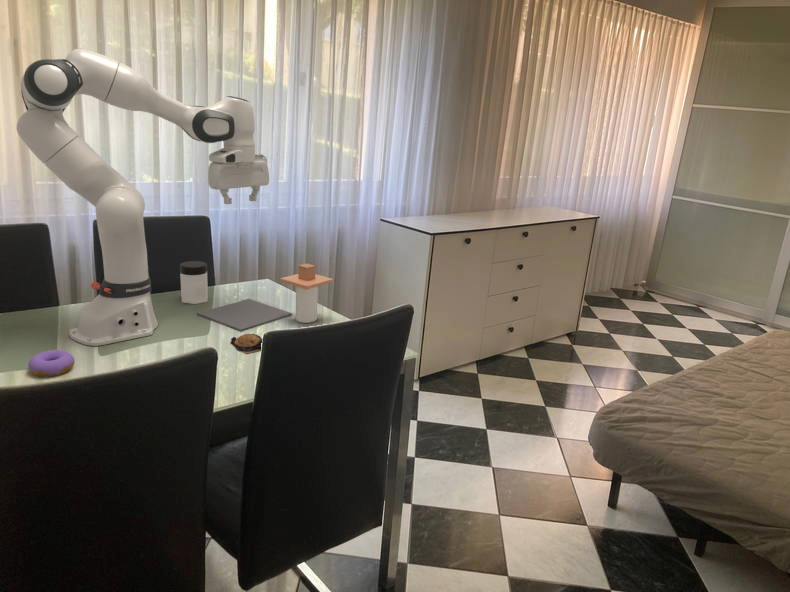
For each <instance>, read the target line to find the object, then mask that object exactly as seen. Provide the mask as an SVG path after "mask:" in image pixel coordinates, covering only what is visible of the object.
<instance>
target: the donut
mask: <svg viewBox="0 0 790 592" xmlns="http://www.w3.org/2000/svg"><path fill="white" fill-rule="evenodd" d="M74 364H75V358H74V356H73V354H72V353H71V352H69V351H67V350H63V349H51V350H45V351H42V352H40V353H39V352H38V353H37V354H35V355H33V357H31V358H30V359H29V361H28V365H27V366H28V369H29V371H30V372H31V373H32V374H34V375H35V376H39V377H56V376H59V375H62V374H65V373H67V372H69V371H70V370H71V369H72V368H73V367H74Z"/></svg>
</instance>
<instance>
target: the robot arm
mask: <svg viewBox="0 0 790 592" xmlns="http://www.w3.org/2000/svg"><path fill="white" fill-rule="evenodd" d="M20 88H21V98H22V101H23V104H24V106H25V109H26V112H24V113H22V115H21V116H20V117H19V118H18V121H17V123H16V131H17V134H18V136H19V137H20V138H21V140H22V142H24V144H25V145H26V146H27V148H28V149H29V150H30V151H31V152H32V153H33V155H35V156H36V158H37V159H38V160H39V161H41V163H42V164H43V165H44V166H45V167H47V168H48V169H49V170H50V171H51V172H52V173H53V174H54V175H55V176H56V177H57V178H58V179H59V180H60V182H62V183H63V184H64V185H66V187H67V188H68V189H70V190H71V191H73V192H75V193H76V194H78V196H79V195H80V197H82V198H83V199H85V200H86V201H87V202H88V203H89V204H91V205H92V206H93V207H94V208H95V218H96V219H95V220H96V226H97V232H98V237H99V242H100V247H101V254H102V263H103V264H102V265H103V275H104V278H103V280H102V282H101V283H99V282H97V281H93V282H91V283H90V287H91V289H92V290H95V291H99V293H98V295H97V296H96V297H94V298H93V300H91V301H90V302H89V303H88V304H87V305H86V306H85V307H83V308H82V309H81V311H80V312H79V313H78V317H77V327H74V328H71V329H69V332H68V333H69V337H70V338H71V339H72V340H73V341H74V342H78V344H83V345H86V346H93V347H99V346H104V345H109V344H115V343H118V342H123V341H124V342H125V341H128V340H133V339H138V338H139V339H140V338H144V337H148V336H151V335H153V334H154V331H155V329H157V328H158V326H159V322H158V321H157V318H156V315H155V314H156V313H155V312H154V307H153V303H152V297H151V295H152V282H151V277H150V275H149V265H148V249H147V242H146V233H145V223H144V212H145V207H146V206H145V205H146V203H145V199H144V197H143V195H142V193H141V192H140V191H139V190H138V189H137V188H136V187H135V186H134V185H133V184H132V183H131V182H129V181H128V180H127V179H126V178H125V177H124V176H123V175H121V173H119V172H118V171H117V170H116V169H115V168H113V167H112V166H111V165H110V164H109V163H108V162H106V161H105V160H104V159H103V158H102V157H101V156H100V155H99V154H98V153H97V152H96V151H95V150H94V149H93V148H92V147H91V146H90V145H89V144H88V143H87V142H86V141H85V140H84V138H83V137H81V136H80V135H79V134H78V133H77V132H76V131H75V130H74V129H73V128H72V127H71V126H70V125H69V123H68V122H67V121H66V119H65V117H64V111H65V110H66V108H68V106H69V105H70V104H71V102H72V101H73V98H74V97H75V96H76V95H85V96H89V97H93V98H95V99H97V100H99V101H101V102H102V103H103V102H104V103H105V104H108V105H111V106H113V107H117V108H120V109H123V110H128V111H132V112H142V113H143V112H144V113H149V114H152V115H154V116H157V117H159V118H161V119H163V120H166V121H168V122H170V123H172V124H174V125H176V126H178V127H180V129H182V130H183V132H185V133H186V135H187V136H188V137H190V138H191V139H193V140H194V141H197V142H201V143H205V144H215V143H218V142H223V148H220V149H218V150H217V151H214V152H211V153H210V154H209V155H208V160H209V161H210V162H211V163H210V164H209V166H208V172H207V174H208V175H207V181H208V186H209V187H210V189H212V190H216V191H219V193H220V194H221V197H222V198H223V204H224V205H232V203H233V202H232V197H230V196H229V194H228V193H229V189H240V188H242V189H243V188H251V190H252V191H251V194H249V195H248V200H249V202H257V199H258V198H257V196H258V194H259V192H260V187H262V186H268V185H269V183H270V173H269V166H268V159H267V157H266V156H265V155H264V154H256V143H255V140H254V133H255V129H256V128H255V126H256V124H255V113H254V107H253V105H252V103H251V102H250V101H249V100H247V99H245V98H241V97H237V96H232V95H229V96H225V97H224V98H222V99H220V100H219V101H217V102H215V103H213V104H211V105H208V106H203V105H187V104H186V103H183V102H181V101H179V100H176V99H175V98H172V97H170V96H168V95H166V94H164V93H162V92H160V91H158V89H156V88H154V86H152V84H150V82H149V81H148V80H147V78H146V76H144V75H143V74H141V73H140V72H138V71H137V70H135V69H133V68H132V67H130V65H129V66H128V65H127V64H125V63H123V62H120V61H118V60H116V59H114V58H111V57H109V56H107V55H105V54H101V53H99V52H96V51H92V50H89V49H85V48H74V49H73V50H72V51H70V52H69V53H68V54H67V55H66V57H65V58H63V59H62V58H58V59H55V58H54V59H52V58H51V59H50V58H49V59H48V58H47V59H45V58H44V59H39V60H36V61H34V62H32V63H30V64H29V65H28V67H26V68H25V71H24V73H23V75H22V77H21V82H20Z"/></svg>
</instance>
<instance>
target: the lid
mask: <svg viewBox="0 0 790 592" xmlns="http://www.w3.org/2000/svg"><path fill="white" fill-rule="evenodd" d="M297 269H298V270H297V271H298V273H295V274H292V275H288V276H285V277H284V276H283V277H281V278H279V282H280V283H284V284H287V285H290V286H294V287H296V286H297V287H300V288H303V289H307V290H308V289H311V288H315V287H321V286H325V285H328V284H332V283H334V278H331V277H328V276H324V275H320V274H316V265H314V264H311V263H303V264H299V265H298V268H297Z"/></svg>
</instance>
